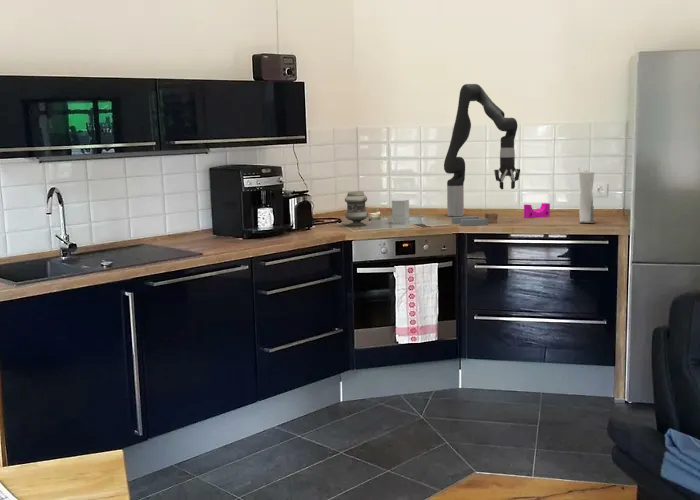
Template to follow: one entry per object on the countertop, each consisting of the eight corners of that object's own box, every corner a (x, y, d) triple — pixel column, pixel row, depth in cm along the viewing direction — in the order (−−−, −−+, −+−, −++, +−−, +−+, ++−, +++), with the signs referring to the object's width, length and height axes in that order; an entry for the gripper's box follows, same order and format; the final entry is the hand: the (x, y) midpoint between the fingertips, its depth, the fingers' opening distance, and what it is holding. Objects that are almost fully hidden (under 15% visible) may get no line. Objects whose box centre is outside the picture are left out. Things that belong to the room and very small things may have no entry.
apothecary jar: (341, 225, 424) (340, 191, 421) (362, 224, 428) (361, 190, 426) (350, 227, 413) (350, 192, 410) (372, 226, 417) (371, 191, 415)
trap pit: (411, 224, 419) (411, 224, 419) (423, 224, 421) (423, 223, 421) (421, 228, 402) (421, 227, 402) (434, 227, 403) (434, 227, 403)
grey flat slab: (451, 223, 423) (451, 217, 423) (476, 221, 426) (476, 216, 425) (462, 226, 407) (462, 220, 407) (487, 224, 410) (487, 219, 410)
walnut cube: (484, 222, 421) (484, 213, 420) (493, 222, 422) (493, 213, 421) (488, 223, 416) (488, 214, 416) (497, 223, 417) (497, 213, 417)
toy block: (542, 216, 449) (542, 202, 448) (549, 217, 444) (549, 203, 443) (520, 217, 443) (521, 204, 442) (528, 218, 437) (528, 205, 436)
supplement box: (409, 222, 429) (409, 199, 427) (404, 224, 423) (404, 200, 421) (397, 222, 432) (396, 199, 431) (391, 223, 426) (391, 200, 424)
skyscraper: (576, 222, 411) (577, 167, 407) (578, 221, 418) (579, 167, 414) (593, 222, 408) (594, 167, 404) (595, 221, 415) (596, 167, 411)
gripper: (517, 156, 421) (517, 188, 424) (491, 156, 418) (491, 189, 421) (523, 156, 414) (523, 189, 416) (497, 157, 411) (497, 190, 413)
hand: (507, 188), depth 419 cm, fingers open, 5 cm apart
